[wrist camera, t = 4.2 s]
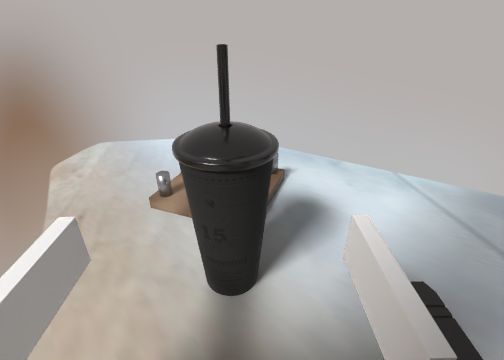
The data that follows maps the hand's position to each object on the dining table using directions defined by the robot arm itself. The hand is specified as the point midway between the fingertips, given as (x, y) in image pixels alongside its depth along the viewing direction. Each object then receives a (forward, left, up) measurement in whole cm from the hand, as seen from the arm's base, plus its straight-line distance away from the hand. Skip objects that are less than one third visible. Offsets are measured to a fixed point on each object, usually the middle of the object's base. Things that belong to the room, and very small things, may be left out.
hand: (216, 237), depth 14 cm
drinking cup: (+3, -8, -12) cm, 15 cm away
